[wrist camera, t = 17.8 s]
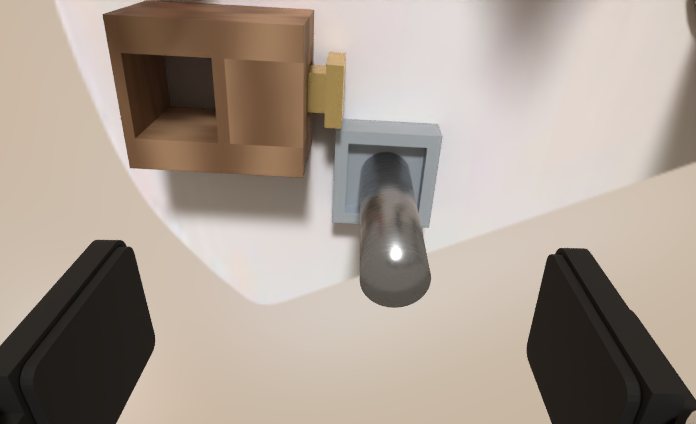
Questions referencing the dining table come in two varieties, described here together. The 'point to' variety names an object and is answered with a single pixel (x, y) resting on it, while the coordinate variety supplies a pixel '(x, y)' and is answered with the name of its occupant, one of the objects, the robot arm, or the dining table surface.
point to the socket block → (215, 87)
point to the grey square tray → (375, 137)
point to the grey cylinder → (391, 234)
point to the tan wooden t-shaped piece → (328, 89)
